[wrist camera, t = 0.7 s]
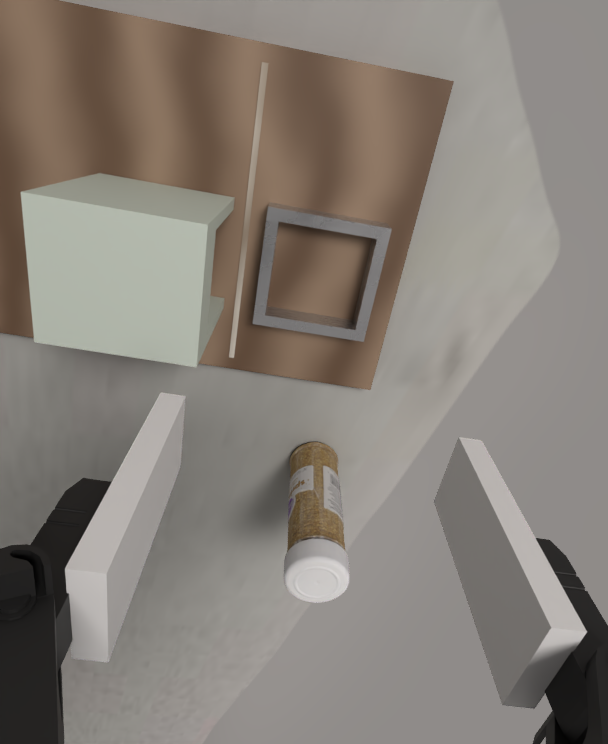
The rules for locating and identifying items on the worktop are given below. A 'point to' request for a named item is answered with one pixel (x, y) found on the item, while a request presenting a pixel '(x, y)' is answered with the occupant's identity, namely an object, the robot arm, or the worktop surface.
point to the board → (223, 163)
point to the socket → (309, 320)
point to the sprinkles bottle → (315, 526)
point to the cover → (123, 266)
